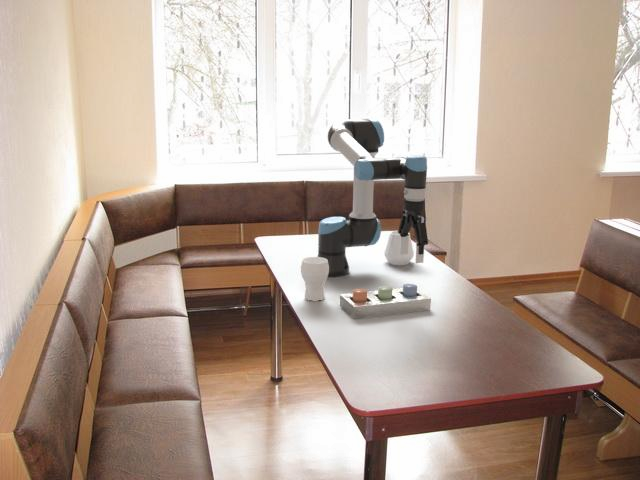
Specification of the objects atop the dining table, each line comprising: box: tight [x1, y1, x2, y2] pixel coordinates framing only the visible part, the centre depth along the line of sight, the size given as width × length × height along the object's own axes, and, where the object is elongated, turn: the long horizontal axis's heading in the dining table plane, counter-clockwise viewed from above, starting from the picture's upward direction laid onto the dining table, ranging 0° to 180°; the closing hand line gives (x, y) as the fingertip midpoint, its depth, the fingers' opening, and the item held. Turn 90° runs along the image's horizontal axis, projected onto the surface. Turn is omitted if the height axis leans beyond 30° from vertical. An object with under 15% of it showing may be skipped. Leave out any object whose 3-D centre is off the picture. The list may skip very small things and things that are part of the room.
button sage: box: [377, 285, 394, 300], centre depth 242 cm, size 5×5×5 cm
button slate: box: [402, 283, 418, 297], centre depth 246 cm, size 5×5×5 cm
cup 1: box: [300, 256, 329, 302], centre depth 251 cm, size 11×11×15 cm
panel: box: [339, 287, 432, 320], centre depth 243 cm, size 14×30×4 cm, turn 109°
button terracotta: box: [352, 288, 368, 303], centre depth 239 cm, size 5×5×5 cm
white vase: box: [383, 230, 415, 266], centre depth 300 cm, size 13×13×14 cm
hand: (411, 258), depth 242 cm, fingers open, 11 cm apart
